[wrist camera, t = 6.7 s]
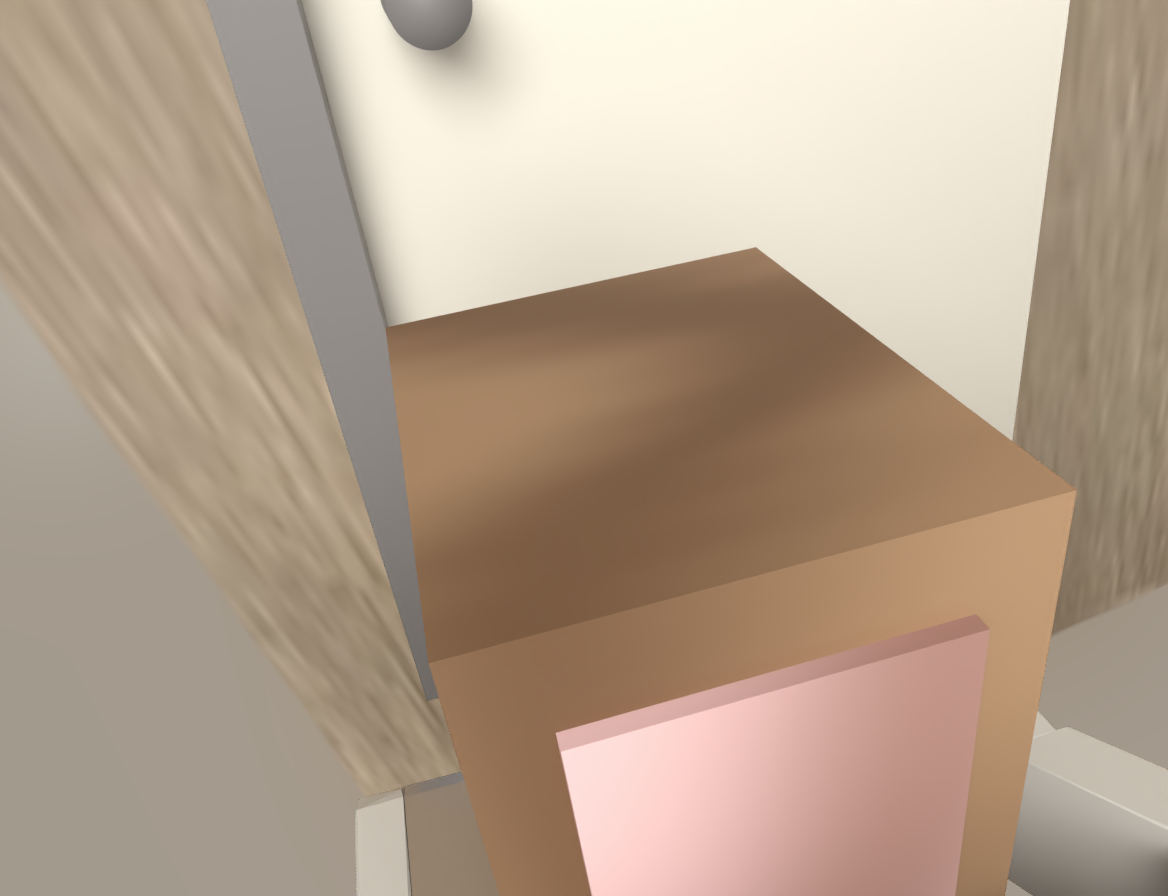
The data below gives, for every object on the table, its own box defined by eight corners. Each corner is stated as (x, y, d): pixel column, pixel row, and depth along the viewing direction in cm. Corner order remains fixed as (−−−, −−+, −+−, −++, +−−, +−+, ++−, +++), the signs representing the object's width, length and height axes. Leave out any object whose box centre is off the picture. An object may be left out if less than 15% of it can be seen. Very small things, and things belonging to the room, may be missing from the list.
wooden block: (755, 246, 10) (1095, 503, 5) (777, 832, 15) (959, 1204, 11) (384, 327, 9) (431, 682, 5) (540, 905, 14) (630, 1327, 10)
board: (1104, -578, 18) (1287, -697, 15) (983, 482, 32) (1063, 552, 28) (79, -481, 16) (7, -597, 12) (418, 629, 29) (430, 726, 26)
